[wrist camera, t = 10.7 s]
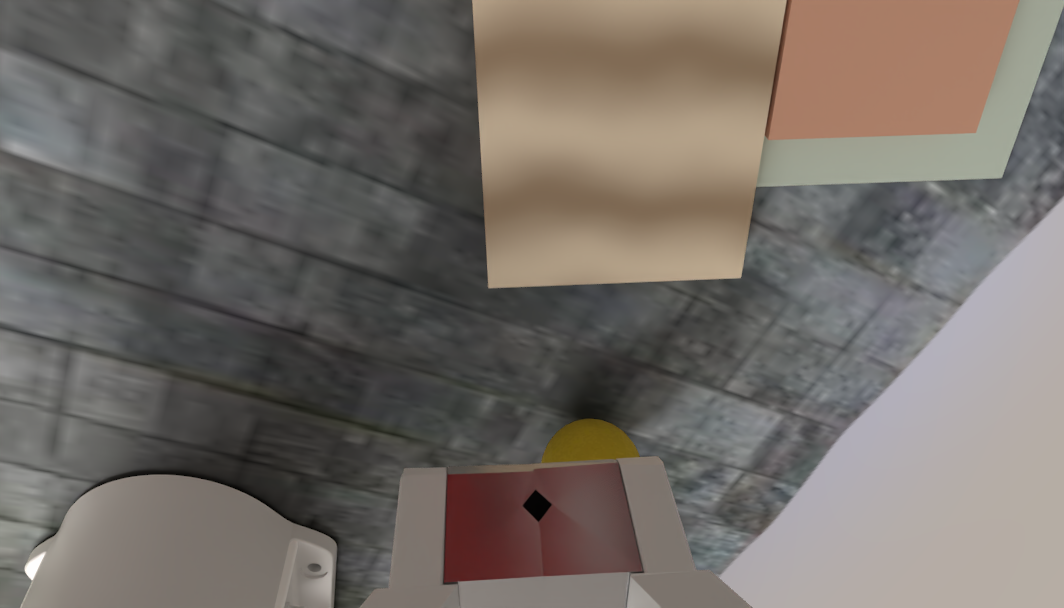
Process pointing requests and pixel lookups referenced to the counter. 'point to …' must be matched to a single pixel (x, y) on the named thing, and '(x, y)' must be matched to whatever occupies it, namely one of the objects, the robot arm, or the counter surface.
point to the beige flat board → (621, 136)
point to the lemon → (589, 442)
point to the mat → (930, 152)
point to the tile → (885, 67)
